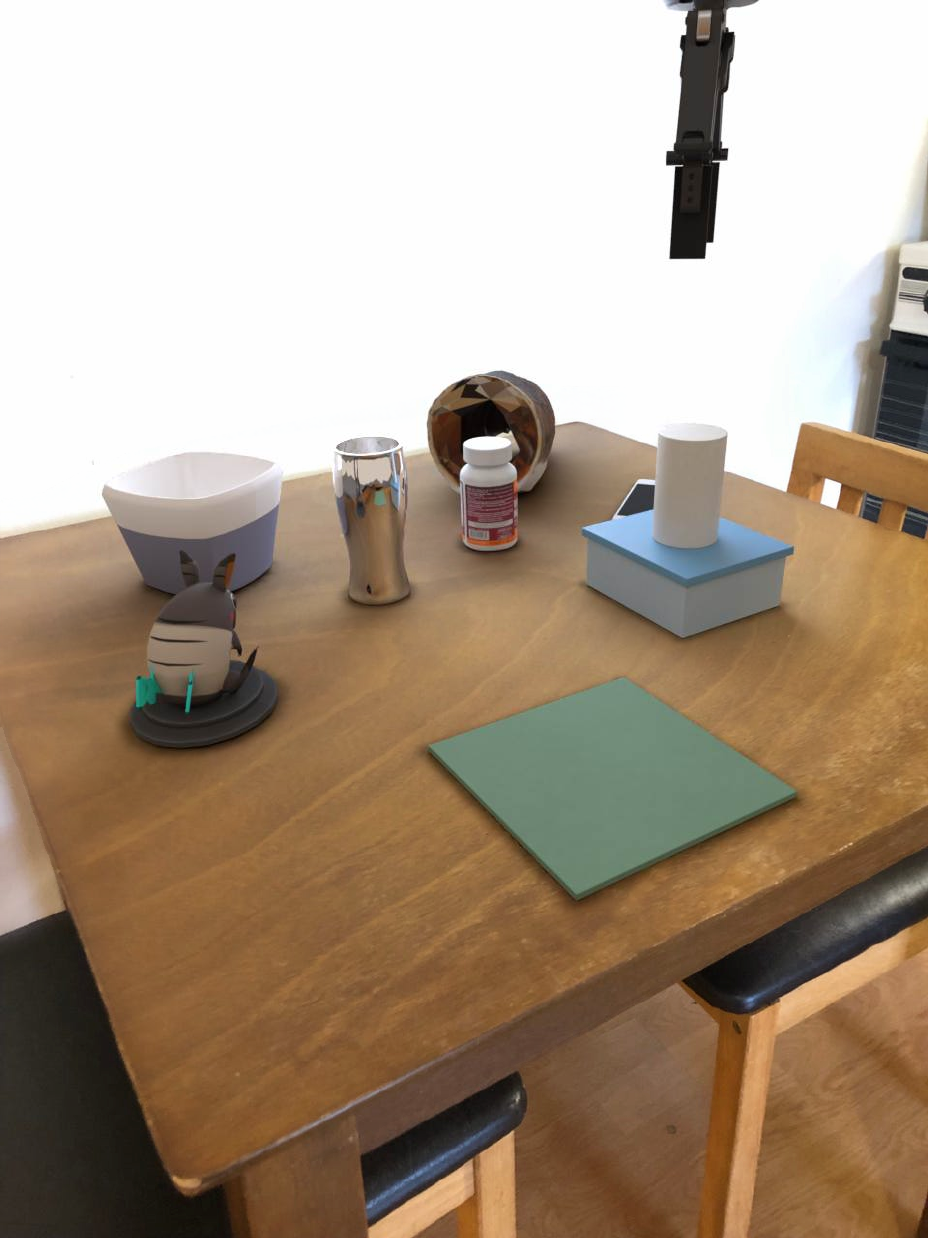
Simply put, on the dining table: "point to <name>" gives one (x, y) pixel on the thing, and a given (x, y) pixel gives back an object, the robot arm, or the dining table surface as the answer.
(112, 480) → the bowl
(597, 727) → the mat
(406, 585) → the beer glass
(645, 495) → the smartphone
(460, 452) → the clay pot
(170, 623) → the figurine
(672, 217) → the robot arm
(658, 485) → the white canister
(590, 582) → the storage box
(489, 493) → the pill bottle
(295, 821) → the dining table surface
